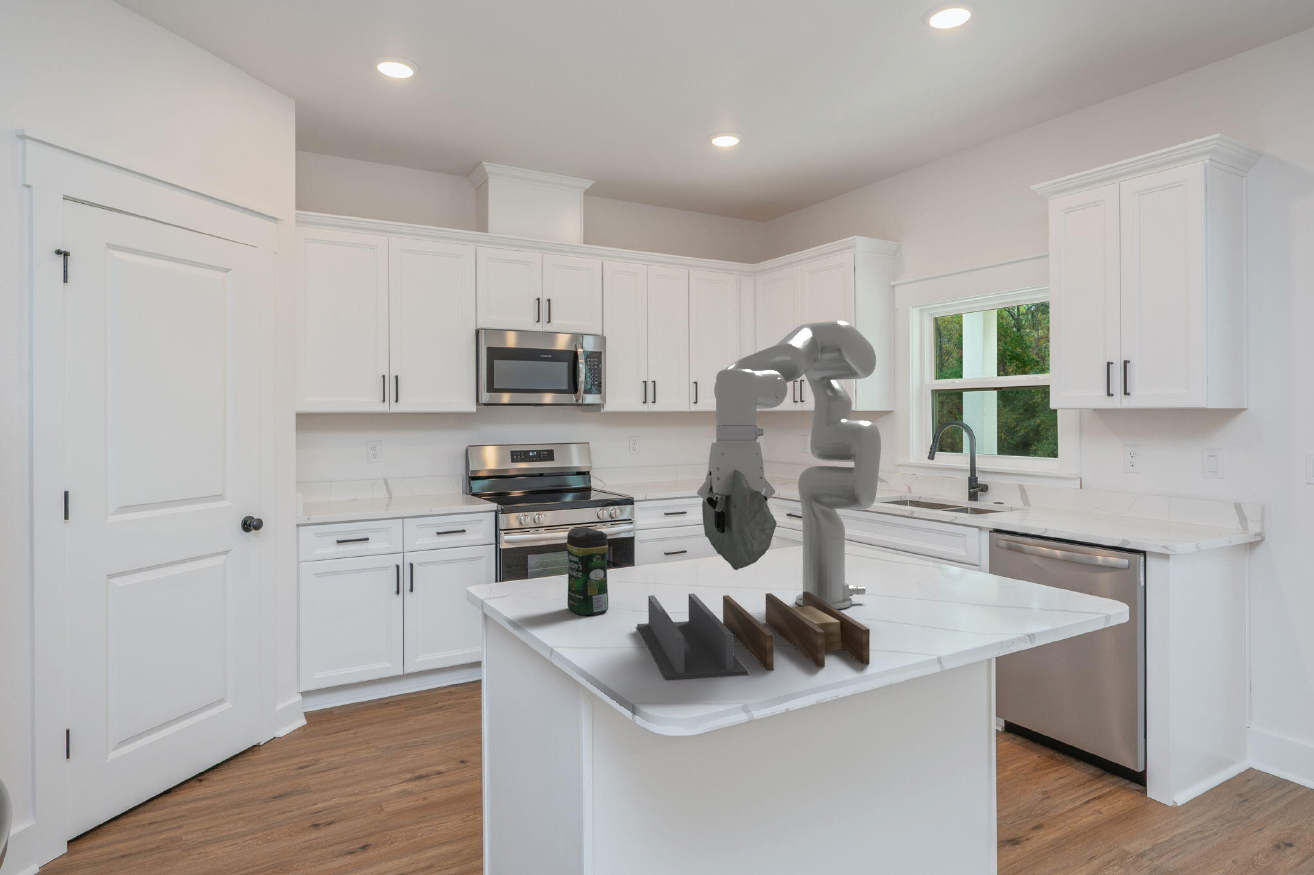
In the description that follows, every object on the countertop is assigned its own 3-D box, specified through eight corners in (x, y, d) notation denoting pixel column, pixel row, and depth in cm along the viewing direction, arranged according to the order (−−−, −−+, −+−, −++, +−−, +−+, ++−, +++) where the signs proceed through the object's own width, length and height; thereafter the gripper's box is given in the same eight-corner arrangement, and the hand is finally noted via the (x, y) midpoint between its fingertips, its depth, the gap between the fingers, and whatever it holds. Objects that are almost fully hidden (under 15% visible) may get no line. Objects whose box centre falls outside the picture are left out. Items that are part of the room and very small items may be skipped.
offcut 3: (810, 635, 151) (810, 625, 151) (841, 653, 139) (841, 642, 139) (787, 637, 149) (787, 627, 149) (817, 655, 138) (817, 645, 138)
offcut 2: (808, 625, 151) (808, 615, 151) (841, 642, 139) (841, 632, 139) (786, 628, 149) (786, 618, 149) (817, 645, 138) (817, 634, 138)
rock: (785, 583, 130) (781, 467, 129) (752, 587, 128) (748, 469, 127) (723, 556, 155) (719, 459, 154) (695, 559, 153) (691, 461, 152)
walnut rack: (808, 619, 159) (808, 591, 159) (869, 663, 131) (869, 629, 131) (723, 624, 156) (722, 595, 156) (766, 670, 128) (766, 635, 127)
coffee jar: (562, 608, 170) (561, 527, 169) (593, 604, 174) (592, 524, 174) (581, 618, 162) (580, 532, 161) (613, 613, 166) (613, 529, 165)
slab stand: (703, 623, 157) (703, 591, 157) (747, 674, 125) (747, 635, 125) (637, 626, 155) (637, 595, 154) (665, 680, 123) (665, 640, 123)
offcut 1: (810, 615, 150) (810, 606, 150) (840, 632, 139) (840, 621, 139) (787, 617, 149) (787, 607, 149) (815, 634, 138) (815, 623, 138)
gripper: (773, 434, 146) (773, 527, 146) (687, 435, 143) (687, 530, 143) (786, 435, 139) (786, 533, 139) (696, 435, 135) (696, 536, 136)
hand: (736, 530), depth 141 cm, fingers closed on rock, 5 cm apart
